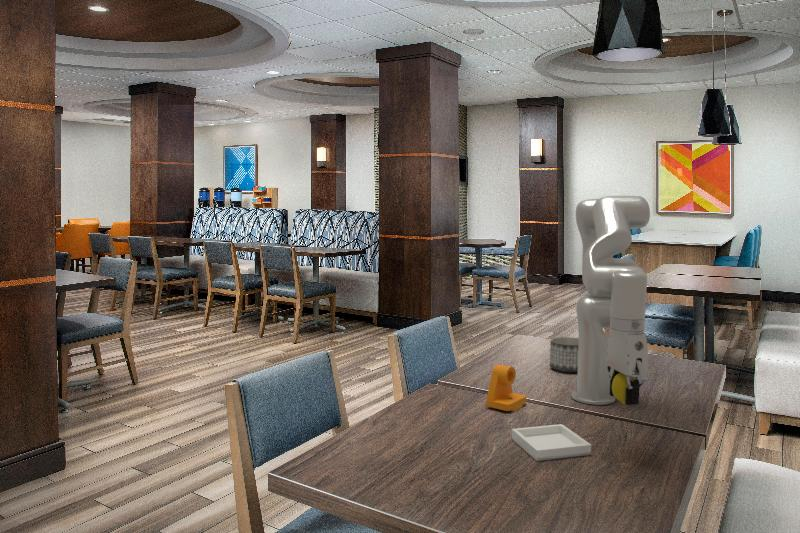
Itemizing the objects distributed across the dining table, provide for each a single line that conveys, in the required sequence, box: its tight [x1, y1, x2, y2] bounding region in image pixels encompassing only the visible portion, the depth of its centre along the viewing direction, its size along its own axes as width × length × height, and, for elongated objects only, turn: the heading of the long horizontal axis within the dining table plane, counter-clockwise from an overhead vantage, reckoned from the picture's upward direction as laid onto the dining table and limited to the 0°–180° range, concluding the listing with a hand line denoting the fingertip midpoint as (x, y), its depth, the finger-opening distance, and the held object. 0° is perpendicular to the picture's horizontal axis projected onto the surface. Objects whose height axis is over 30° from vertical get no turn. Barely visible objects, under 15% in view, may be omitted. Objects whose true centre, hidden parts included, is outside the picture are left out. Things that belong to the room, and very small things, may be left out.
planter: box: [549, 336, 579, 373], centre depth 222 cm, size 13×13×10 cm
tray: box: [511, 423, 592, 462], centre depth 154 cm, size 14×14×2 cm
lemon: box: [612, 373, 635, 405], centre depth 148 cm, size 6×6×8 cm
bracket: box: [486, 363, 527, 413], centre depth 183 cm, size 11×7×12 cm, turn 139°
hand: (623, 399), depth 148 cm, fingers closed on lemon, 5 cm apart
